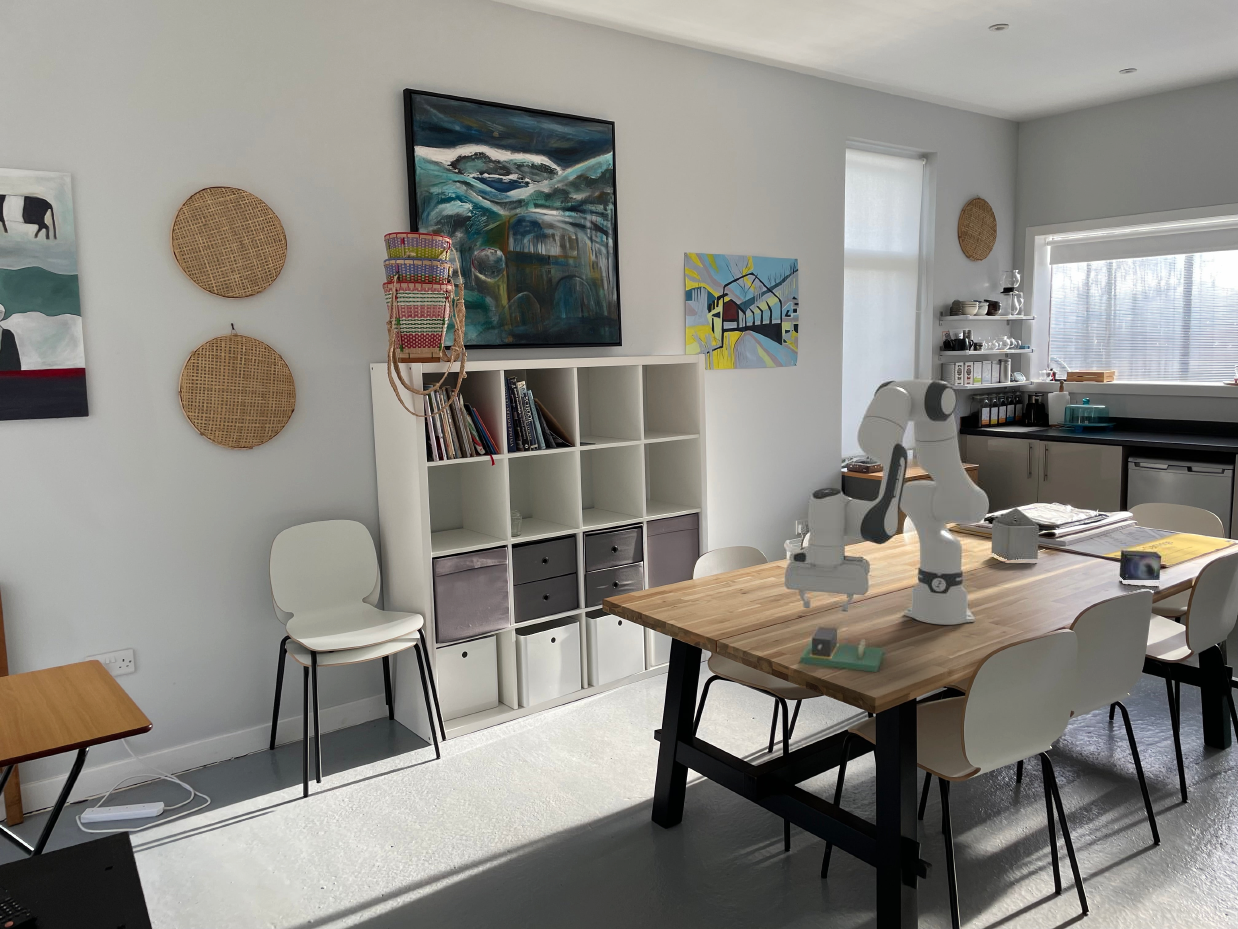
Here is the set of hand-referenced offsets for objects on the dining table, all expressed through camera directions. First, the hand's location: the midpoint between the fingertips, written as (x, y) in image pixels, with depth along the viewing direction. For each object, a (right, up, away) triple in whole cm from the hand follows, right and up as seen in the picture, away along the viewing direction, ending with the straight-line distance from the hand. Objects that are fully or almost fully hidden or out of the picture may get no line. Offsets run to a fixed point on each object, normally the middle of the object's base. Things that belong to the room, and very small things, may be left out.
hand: (826, 609), depth 222 cm
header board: (+4, -12, -1) cm, 13 cm away
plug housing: (-1, -10, 0) cm, 10 cm away
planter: (+91, 0, +103) cm, 138 cm away
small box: (+118, -3, +69) cm, 137 cm away
